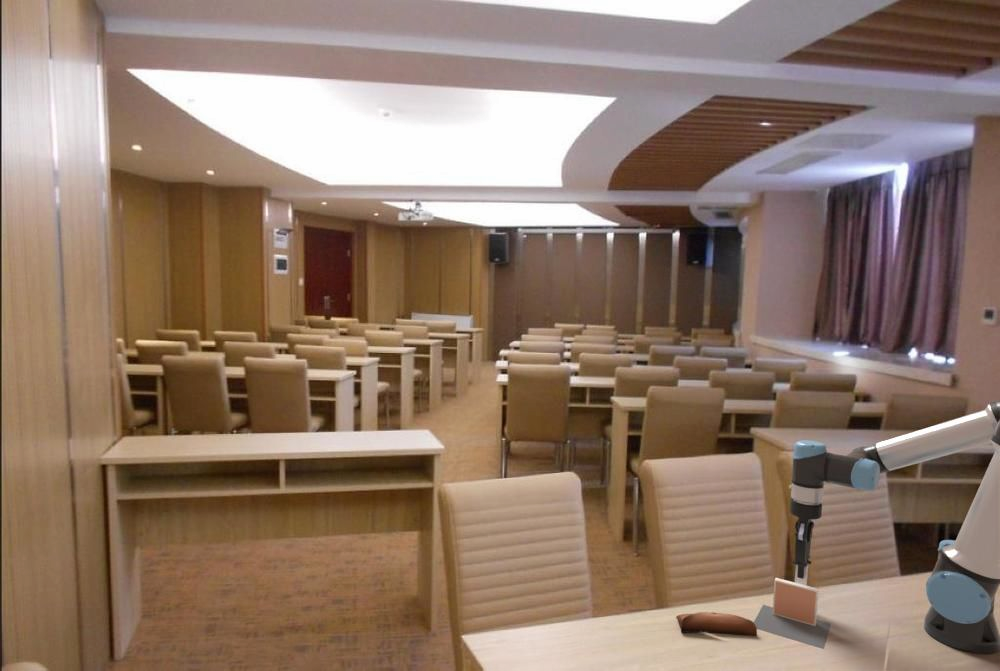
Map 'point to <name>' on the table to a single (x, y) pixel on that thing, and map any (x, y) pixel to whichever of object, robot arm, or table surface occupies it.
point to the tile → (795, 601)
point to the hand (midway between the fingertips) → (800, 588)
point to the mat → (792, 628)
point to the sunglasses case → (716, 623)
